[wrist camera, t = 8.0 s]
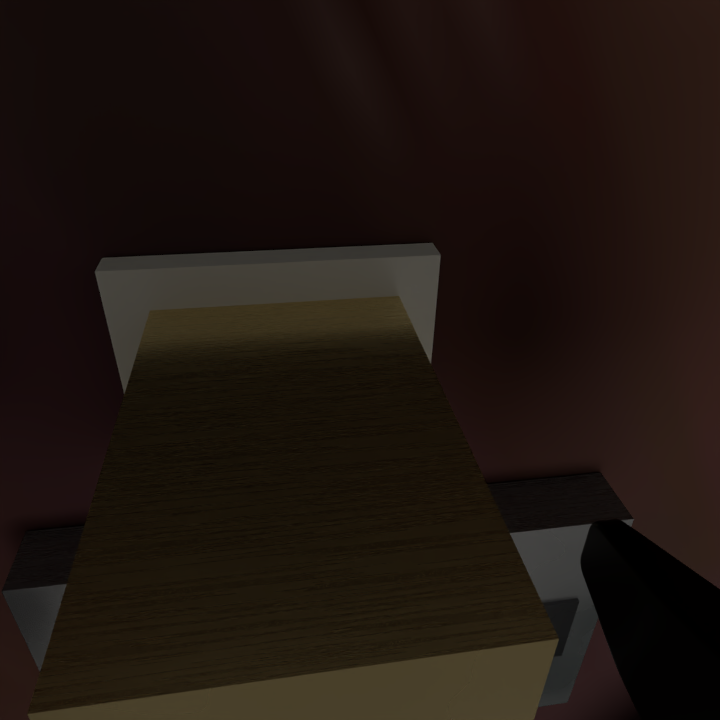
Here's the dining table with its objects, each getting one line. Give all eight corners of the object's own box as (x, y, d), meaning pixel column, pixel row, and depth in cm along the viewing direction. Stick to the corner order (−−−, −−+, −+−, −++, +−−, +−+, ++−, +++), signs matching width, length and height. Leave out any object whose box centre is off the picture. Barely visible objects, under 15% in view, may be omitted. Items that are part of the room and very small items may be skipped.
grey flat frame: (101, 717, 18) (89, 780, 17) (25, 531, 14) (0, 595, 12) (546, 653, 20) (568, 705, 18) (601, 472, 16) (635, 522, 14)
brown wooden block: (186, 495, 13) (133, 912, 7) (149, 310, 11) (27, 714, 5) (389, 474, 14) (494, 846, 8) (399, 295, 11) (559, 639, 5)
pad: (158, 502, 14) (155, 522, 13) (101, 258, 11) (94, 271, 10) (413, 477, 15) (419, 494, 14) (432, 243, 11) (440, 254, 11)
